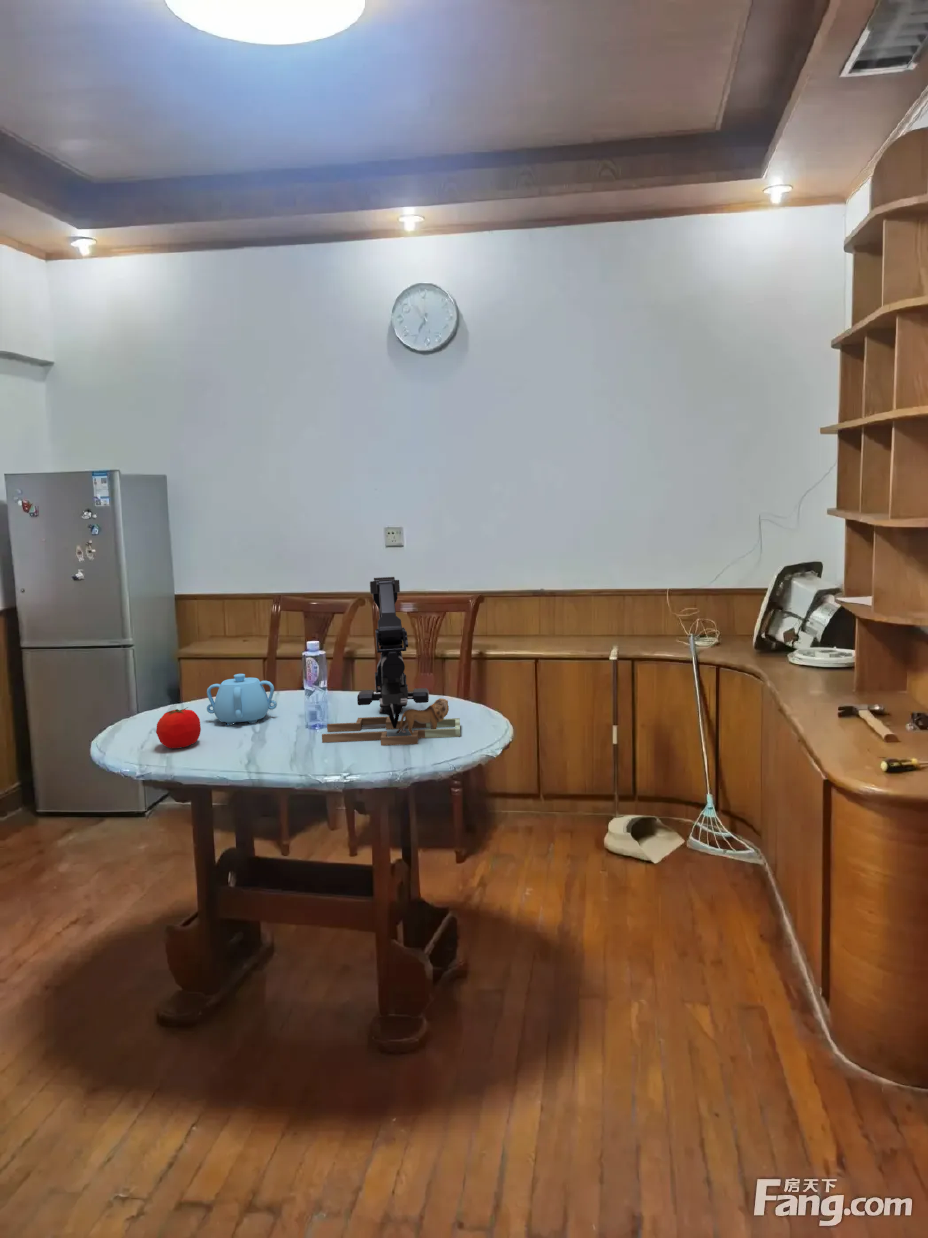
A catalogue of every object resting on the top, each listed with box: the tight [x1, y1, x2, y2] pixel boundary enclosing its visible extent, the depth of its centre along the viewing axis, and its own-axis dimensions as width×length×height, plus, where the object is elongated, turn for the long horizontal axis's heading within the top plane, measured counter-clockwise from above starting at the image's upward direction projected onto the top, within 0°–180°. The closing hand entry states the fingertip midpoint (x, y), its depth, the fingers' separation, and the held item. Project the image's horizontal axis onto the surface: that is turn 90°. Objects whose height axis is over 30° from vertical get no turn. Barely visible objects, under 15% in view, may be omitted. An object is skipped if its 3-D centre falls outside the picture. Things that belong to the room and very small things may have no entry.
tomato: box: [155, 706, 202, 749], centre depth 246 cm, size 11×13×10 cm
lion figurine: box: [395, 697, 450, 736], centre depth 249 cm, size 15×5×9 cm, turn 103°
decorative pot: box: [206, 673, 278, 725], centre depth 271 cm, size 16×16×14 cm
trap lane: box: [321, 715, 461, 747], centre depth 250 cm, size 22×36×2 cm, turn 91°
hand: (394, 728), depth 250 cm, fingers closed
